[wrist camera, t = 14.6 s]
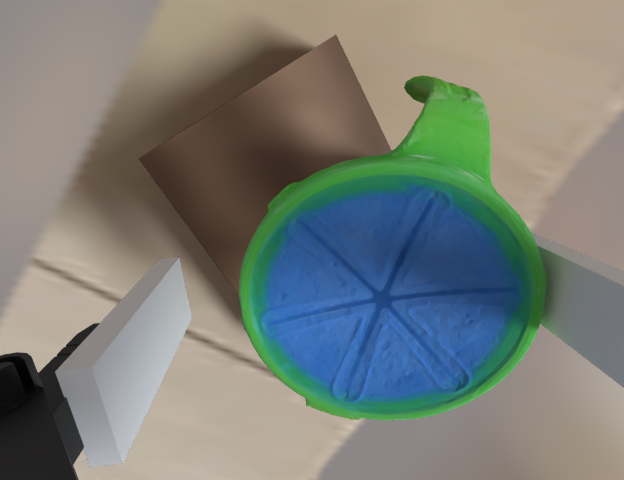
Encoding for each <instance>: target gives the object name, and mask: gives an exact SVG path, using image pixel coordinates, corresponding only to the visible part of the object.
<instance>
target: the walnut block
mask: <svg viewBox="0 0 624 480" xmlns="http://www.w3.org/2000/svg"><path fill="white" fill-rule="evenodd" d="M389 152H391V149H390V146H389V144H388V142H387V140H386V138H385V136H384V134H383V132H382V130H381V128H380V126H379V124H378V121H377V119H376V117H375V115H374V113H373V111H372V109H371V107H370V105H369V103H368V101H367V98H366V96H365V94H364V92H363V90H362V88H361V86H360V84H359V82H358V80H357V78H356V76H355V73H354V71H353V69H352V67H351V65H350V63H349V61H348V59H347V57H346V55H345V53H344V50H343V48H342V46H341V44H340V42H339V40H338V38H337V36H336V35H335V36H333V37H332V38H330V39H328V40H327V41H325V42H324V43H322V44H320V45H319V46H317V47H316V48H314V49H312V50H311V51H309V52H308V53H306V54H305V55H303V56H301V57H300V58H298V59H297V60H295V61H293V62H292V63H290V64H289V65H287V66H285V67H284V68H282V69H281V70H279V71H277V72H276V73H274V74H273V75H271V76H270V77H268V78H266V79H265V80H263V81H262V82H260V83H258V84H257V85H255V86H254V87H252V88H250V89H249V90H247V91H246V92H244V93H242V94H241V95H239V96H238V97H236V98H235V99H233V100H231V101H230V102H228V103H227V104H225V105H223V106H222V107H220V108H219V109H217V110H215V111H214V112H212V113H211V114H209V115H207V116H206V117H204V118H203V119H201V120H200V121H198V122H196V123H195V124H193V125H192V126H190V127H188V128H187V129H185V130H184V131H182V132H180V133H179V134H177V135H176V136H174V137H172V138H171V139H169V140H168V141H166V142H165V143H163V144H161V145H160V146H158V147H157V148H155V149H153V150H152V151H150V152H149V153H147V154H145V155H144V156H142V157H141V158H139V160H140V161H141V162H142V164H143V165H144V167H145V168H146V169H147V171H148V172H149V173H150V175H151V176H152V177H153V179H154V180H155V182H156V183H157V184H158V186H159V187H160V188H161V190H162V191H163V193H164V194H165V195H166V197H167V198H168V199H169V201H170V202H171V203H172V205H173V206H174V208H175V209H176V210H177V212H178V213H179V214H180V216H181V217H182V218H183V220H184V221H185V223H186V224H187V225H188V227H189V228H190V229H191V231H192V232H193V233H194V235H195V236H196V238H197V239H198V240H199V242H200V243H201V244H202V246H203V247H204V249H205V250H206V251H207V253H208V254H209V255H210V257H211V258H212V259H213V261H214V262H215V264H216V265H217V266H218V268H219V269H220V270H221V272H222V273H223V274H224V276H225V277H226V279H227V280H228V281H229V283H230V284H231V285H232V287H233V288H234V289H235V291H236V292H237V294H238V295H239V280H240V272H241V267H242V262H243V259H244V256H245V253H246V251H247V248H248V246H249V244H250V241H251V239H252V237H253V235H254V233H255V232H256V230H257V228H258V226H259V225H260V223H261V222H262V220H263V219H264V217H265V216H266V215H267V213H268V204H269V203H270V202H271V201H272V200H273V199H274V198H275V197H276V196H277V195H278V194H279V193H280V192H281V191H282V190H283V189H284V188H285V187H287V186H288V185H289V184H291V183H294V182H301V181H303V180H304V179H306V178H307V177H309V176H311V175H312V174H314V173H316V172H318V171H321V170H323V169H326V168H328V167H330V166H333V165H335V164H338V163H341V162H344V161H348V160H352V159H356V158H361V157H366V156H372V155H383V154H387V153H389Z"/></svg>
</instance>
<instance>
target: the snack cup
mask: <svg viewBox="0 0 624 480" xmlns="http://www.w3.org/2000/svg"><path fill="white" fill-rule="evenodd" d="M404 88H405V90H406V92H407V93H408V94H409V95H410V96H411V97H412V98H413V99H414V100H416V101H419V102H421V103H425V105H424V107H423V110H422V112H421V114H420V115H419V117H418V118H417V120H416V122H415V123H414V125H413V127H412V128H411V130H410V131H409V133H408V135H407V136H406V137H405V139H404V140H403V141H402V142H401V143H400V145H399V146H398V147H397V148H396V149H395V150H393V151H391V152H389V153H387V154H383V155H372V156H366V157H361V158H356V159H352V160H348V161H344V162H341V163H338V164H335V165H333V166H330V167H328V168H326V169H323V170H321V171H318V172H316V173H314V174H312V175H311V176H309V177H307V178H306V179H304V180H303V181H301V182H294V183H291V184H289V185H288V186H287V187H285V188H284V189H283V190H282V191H281V192H280V193H279V194H278V195H277V196H276V197H275V198H274V199H273V200H272V201H271V202H270V203H269V204H268V213H267V215H266V216H265V217H264V219H263V220H262V222H261V223H260V225H259V226H258V228H257V230H256V232H255V233H254V235H253V237H252V239H251V241H250V244H249V246H248V248H247V251H246V253H245V256H244V259H243V262H242V267H241V272H240V280H239V300H240V308H241V317H242V321H243V325H244V329H245V331H246V332H247V334H248V336H249V338H250V340H251V342H252V344H253V346H254V348H255V350H256V351H257V353H258V355H259V356H260V358H261V359H262V360H263V362H264V363H265V364H266V365H267V366H268V368H269V369H270V370H271V371H272V372H273V373H274V375H276V376H277V377H278V378H279V379H280V380H281V381H282V382H283V383H284V384H285V385H287V386H288V387H289V388H291V389H292V390H293V391H295V392H296V393H298V394H299V395H301V396H303V397H305V398H306V402H307V403H306V406H310V407H312V408H315V409H318V410H320V411H323V412H326V413H329V414H332V415H336V416H340V417H345V418H349V419H357V420H358V419H360V418H367V419H377V420H409V419H416V418H423V417H428V416H432V415H436V414H440V413H443V412H446V411H448V410H451V409H454V408H456V407H459V406H461V405H464V404H466V403H468V402H470V401H471V400H473V399H475V398H477V397H478V396H480V395H483V394H484V393H486V392H487V391H489V390H490V389H491V388H493V387H494V386H495V385H497V384H498V383H499V382H500V381H501V380H503V379H504V378H505V377H506V376H507V375H508V374H509V373H510V372H511V371H512V370H513V369H514V367H515V366H516V365H517V364H518V363H519V362H520V361H521V359H522V358H523V356H524V355H525V353H526V352H527V350H528V348H529V347H530V345H531V343H532V341H533V340H534V338H535V336H536V333H537V331H538V328H539V324H540V321H541V318H542V316H543V311H544V303H545V294H546V289H547V281H548V277H547V273H546V270H545V268H544V266H543V261H542V258H541V254H540V251H539V249H538V246H537V244H536V243H535V239H534V237H533V235H532V233H531V232H530V230H529V229H528V227H527V226H526V224H525V223H524V221H523V220H522V219H521V217H520V216H519V215H518V213H517V212H516V211H515V210H514V209H513V208H512V207H511V206H510V205H509V204H508V203H507V202H506V201H505V200H504V199H503V198H502V197H501V196H500V195H499V194H498V193H497V192H496V190H495V189H494V187H493V185H492V182H491V178H490V174H491V135H490V122H489V116H488V113H487V110H486V106H485V103H484V101H483V99H482V98H481V97H480V95H479V94H478V93H477V92H475V91H473V90H471V89H469V88H466V87H460V86H457V85H455V84H453V83H447V82H445V81H443V80H441V79H438V78H434V77H429V76H418V77H413V78H412V79H410V80H409V81H407V82H406V84H405V87H404Z"/></svg>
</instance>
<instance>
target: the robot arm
mask: <svg viewBox="0 0 624 480" xmlns="http://www.w3.org/2000/svg"><path fill="white" fill-rule="evenodd" d="M531 233H532V235H533V237H534V239H535V243H536V244H537V246H538V249H539V251H540V254H541V258H542V261H543V266H544V268H545V270H546V273H547V277H548V281H547V289H546V294H545V303H544V311H543V316H542V318H541V321H540V324H542V325H543V326H544V327H545V328H547V329H548V330H549V331H551V332H552V333H553V334H555V335H556V336H557V337H559V338H560V339H561V340H562V341H564V342H565V343H566V344H568V345H569V346H570V347H572V348H573V349H574V350H576V351H577V352H578V353H579V354H581V355H582V356H583V357H585V358H586V359H587V360H588V361H590V362H591V363H592V364H594V365H595V366H596V367H598V368H599V369H600V370H602V371H603V372H604V373H605V374H607V375H608V376H609V377H611V378H612V379H613V380H614V381H616V382H617V383H618V384H620V385H621V386H622V387H624V271H621V270H619V269H617V268H614V267H612V266H610V265H607V264H605V263H603V262H600V261H598V260H596V259H593V258H591V257H588V256H586V255H584V254H582V253H579V252H577V251H575V250H572V249H570V248H568V247H565V246H563V245H561V244H558V243H556V242H554V241H551V240H549V239H547V238H544V237H542V236H539V235H537V234H535V233H533V232H531ZM191 319H192V317H191V312H190V307H189V302H188V297H187V292H186V288H185V283H184V278H183V273H182V268H181V263H180V258H179V257H177V258H166V259H159V260H158V261H157V262H156V264H155V265H154V266H153V267H152V268H151V269H150V270H149V271H148V272H147V273H146V274H145V275H144V276H143V278H142V279H141V280H140V281H139V282H138V283H137V284H136V285H135V286H134V287H133V288H132V289H131V290H130V292H129V293H128V294H127V295H126V296H125V297H124V298H123V299H122V300H121V301H120V302H119V303H118V304H117V306H116V307H115V308H114V309H113V310H112V311H111V312H110V313H109V314H108V315H107V316H106V317H105V318H104V319H103V321H102V322H101V323H97V324H93V325H91V326H89V327H88V328H86V329H85V330H83V331H81V332H80V333H78V334H77V335H76V336H75V337H74V338H73V339H72V340H71V341H70V342H69V343H68V344H67V345H66V347H64V348H63V349H62V350H61V351H60V352H59V353H58V354H57V357H54V358H53V359H52V360H51V361H50V362H49V363H48V364H47V365H46V366H45V367H44V368H43V369H42V370H41V371H40V372H39V373H38V372H37V370H36V367H35V365H34V362H33V359H32V357H31V356H30V355H29V354H27V353H18V352H17V353H11V354H5V355H1V356H0V480H78V477H77V474H76V472H75V469H74V467H73V464H74V463H75V461H76V459H77V458H78V456H79V455H80V453H81V451H82V450H84V453H85V456H86V458H87V461H88V464H89V467H99V466H107V465H115V464H123V462H124V460H125V458H126V456H127V454H128V451H129V449H130V447H131V445H132V443H133V441H134V439H135V437H136V435H137V433H138V430H139V428H140V426H141V424H142V422H143V420H144V418H145V416H146V414H147V412H148V409H149V407H150V405H151V403H152V401H153V399H154V397H155V395H156V393H157V390H158V388H159V386H160V384H161V382H162V380H163V378H164V376H165V374H166V372H167V369H168V367H169V365H170V363H171V361H172V359H173V357H174V355H175V353H176V351H177V348H178V346H179V344H180V342H181V340H182V338H183V336H184V334H185V332H186V330H187V327H188V325H189V323H190V321H191Z"/></svg>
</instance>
